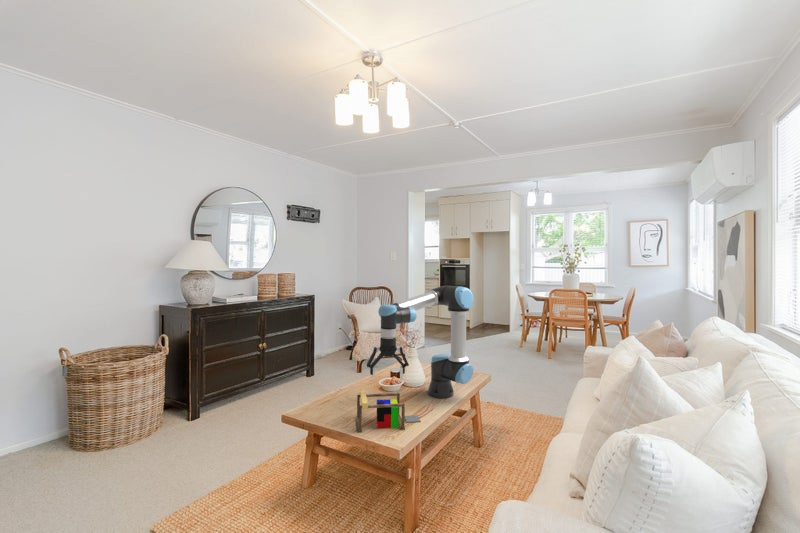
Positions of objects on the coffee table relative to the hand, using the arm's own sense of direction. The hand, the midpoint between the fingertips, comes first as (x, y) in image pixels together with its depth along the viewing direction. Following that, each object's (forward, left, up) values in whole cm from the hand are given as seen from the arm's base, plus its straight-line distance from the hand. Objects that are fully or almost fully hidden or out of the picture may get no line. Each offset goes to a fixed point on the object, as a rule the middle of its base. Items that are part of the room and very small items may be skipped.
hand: (387, 380), depth 184 cm
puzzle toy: (0, 0, -21) cm, 21 cm away
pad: (-13, -3, -21) cm, 25 cm away
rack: (+3, 0, -21) cm, 21 cm away
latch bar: (+11, 0, -10) cm, 15 cm away
